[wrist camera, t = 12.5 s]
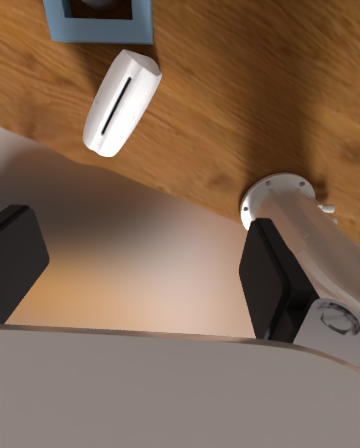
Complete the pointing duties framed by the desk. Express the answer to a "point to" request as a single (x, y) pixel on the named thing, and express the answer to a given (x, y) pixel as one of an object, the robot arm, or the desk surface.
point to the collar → (100, 25)
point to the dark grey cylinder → (103, 5)
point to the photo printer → (120, 102)
